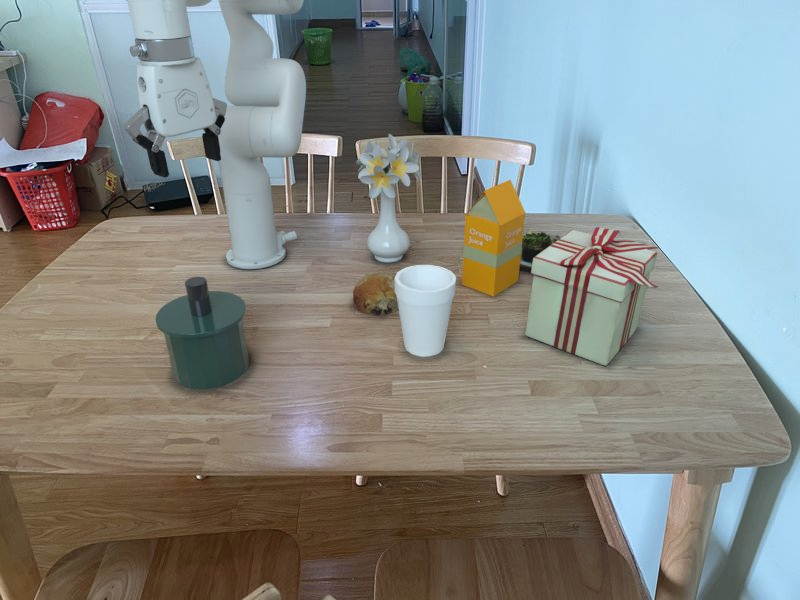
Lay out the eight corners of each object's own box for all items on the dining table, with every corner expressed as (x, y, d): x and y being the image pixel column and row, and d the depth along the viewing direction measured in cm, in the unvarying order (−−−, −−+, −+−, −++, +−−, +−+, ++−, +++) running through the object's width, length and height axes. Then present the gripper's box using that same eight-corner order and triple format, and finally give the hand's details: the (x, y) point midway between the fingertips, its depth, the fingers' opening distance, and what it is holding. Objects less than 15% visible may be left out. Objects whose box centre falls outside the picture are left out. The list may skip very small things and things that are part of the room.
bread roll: (410, 317, 115) (416, 275, 114) (393, 321, 105) (400, 275, 104) (362, 309, 117) (367, 268, 117) (341, 312, 108) (347, 267, 107)
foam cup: (412, 371, 93) (412, 297, 87) (385, 342, 100) (384, 272, 94) (464, 354, 97) (467, 283, 91) (434, 328, 104) (436, 260, 98)
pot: (227, 342, 101) (218, 289, 96) (262, 371, 93) (254, 315, 89) (162, 368, 94) (149, 313, 89) (194, 402, 87) (182, 344, 82)
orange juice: (461, 284, 119) (465, 186, 109) (486, 269, 124) (493, 175, 115) (494, 296, 114) (502, 195, 104) (519, 281, 120) (529, 183, 110)
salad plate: (483, 240, 137) (484, 222, 135) (556, 233, 141) (558, 215, 138) (515, 278, 121) (517, 257, 119) (597, 269, 124) (600, 249, 122)
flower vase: (359, 278, 121) (354, 155, 109) (360, 241, 137) (356, 130, 125) (423, 276, 122) (426, 154, 109) (417, 240, 138) (419, 130, 126)
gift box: (633, 376, 92) (656, 275, 83) (520, 341, 101) (530, 246, 92) (658, 327, 104) (680, 235, 96) (556, 299, 113) (568, 212, 105)
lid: (221, 289, 97) (215, 254, 94) (263, 319, 89) (258, 282, 86) (142, 317, 90) (133, 279, 87) (180, 352, 81) (171, 312, 78)
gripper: (125, 61, 78) (153, 187, 87) (231, 45, 90) (247, 157, 99) (94, 56, 82) (124, 177, 91) (200, 41, 94) (217, 149, 103)
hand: (188, 167), depth 95 cm, fingers open, 9 cm apart
